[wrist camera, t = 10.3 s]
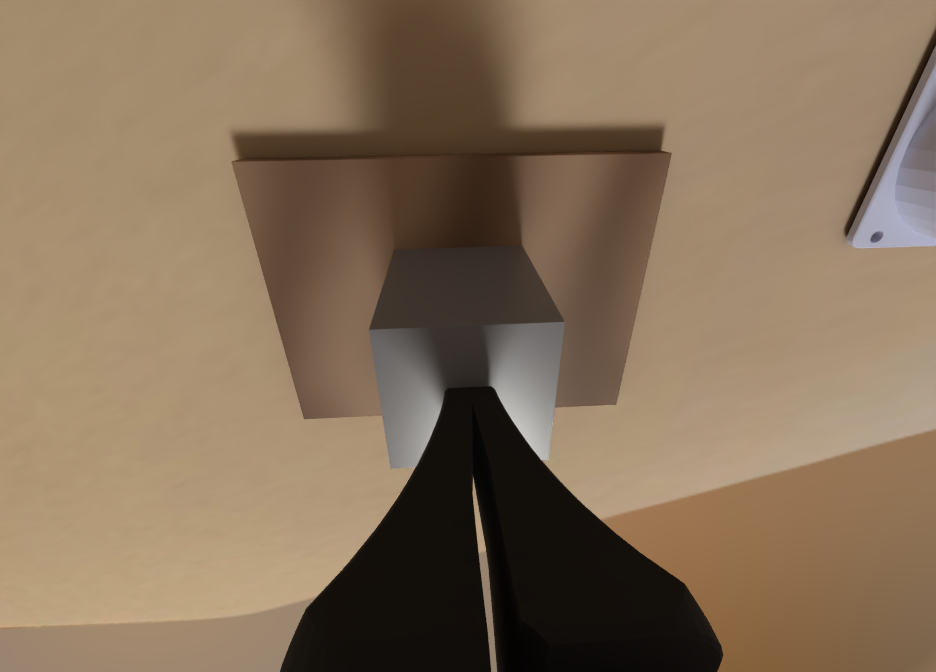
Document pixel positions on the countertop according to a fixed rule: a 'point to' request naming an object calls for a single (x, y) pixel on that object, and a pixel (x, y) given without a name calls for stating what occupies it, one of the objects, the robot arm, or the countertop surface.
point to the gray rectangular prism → (464, 342)
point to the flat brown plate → (449, 226)
